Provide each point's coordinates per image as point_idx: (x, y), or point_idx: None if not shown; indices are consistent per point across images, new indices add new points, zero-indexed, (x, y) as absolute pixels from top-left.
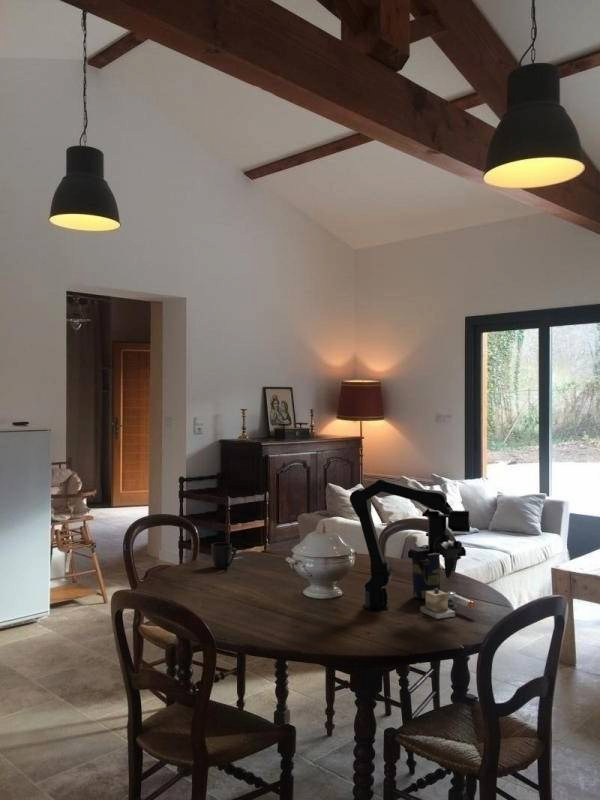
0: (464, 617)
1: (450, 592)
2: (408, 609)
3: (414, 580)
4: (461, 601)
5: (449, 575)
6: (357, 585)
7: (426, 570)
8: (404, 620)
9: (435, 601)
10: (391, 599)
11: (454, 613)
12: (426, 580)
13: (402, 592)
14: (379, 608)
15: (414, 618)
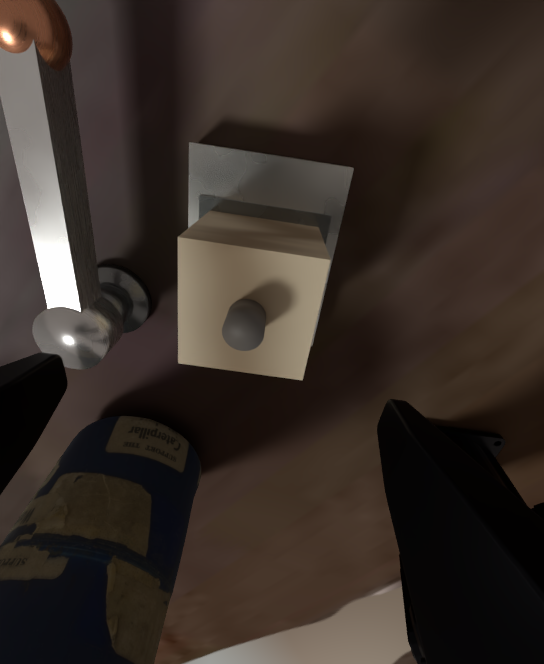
0: (149, 82)
1: (65, 350)
2: (339, 380)
3: (182, 547)
4: (73, 181)
5: (12, 368)
6: (278, 607)
7: (533, 537)
8: (526, 255)
9: (315, 243)
10: (292, 494)
11: (198, 143)
12: (407, 404)
13: (192, 524)
14: (466, 435)
15: (446, 253)
